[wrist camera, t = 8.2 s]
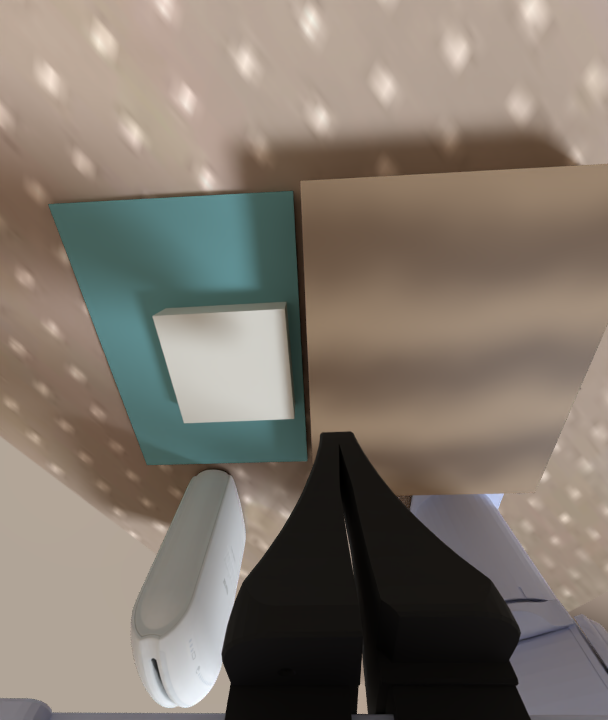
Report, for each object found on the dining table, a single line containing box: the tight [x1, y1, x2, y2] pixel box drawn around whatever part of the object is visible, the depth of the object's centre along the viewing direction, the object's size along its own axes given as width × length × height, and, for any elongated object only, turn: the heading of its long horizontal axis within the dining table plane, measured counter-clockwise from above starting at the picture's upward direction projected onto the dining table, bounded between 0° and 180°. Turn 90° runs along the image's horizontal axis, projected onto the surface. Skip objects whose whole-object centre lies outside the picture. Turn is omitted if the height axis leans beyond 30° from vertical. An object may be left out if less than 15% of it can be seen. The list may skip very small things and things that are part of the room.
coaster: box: [152, 302, 295, 423], centre depth 19 cm, size 8×8×2 cm
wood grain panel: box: [300, 164, 608, 496], centre depth 18 cm, size 20×16×4 cm
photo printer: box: [131, 470, 246, 708], centre depth 22 cm, size 10×4×12 cm, turn 3°
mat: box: [48, 191, 307, 465], centre depth 20 cm, size 20×14×1 cm
